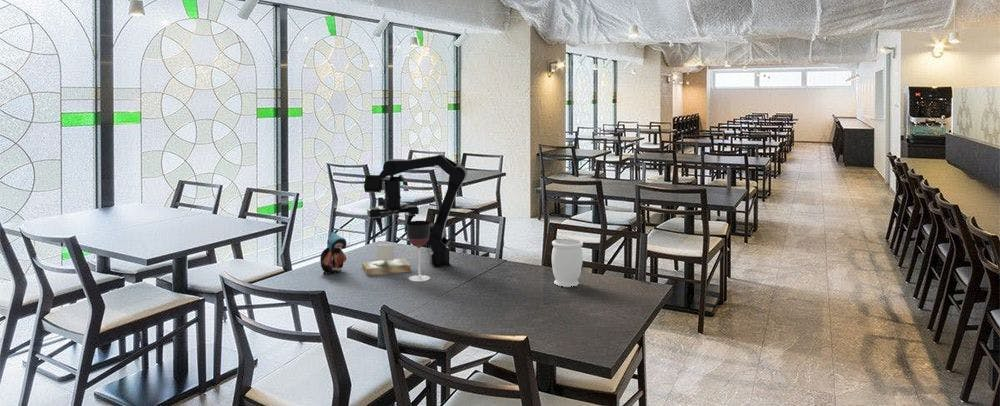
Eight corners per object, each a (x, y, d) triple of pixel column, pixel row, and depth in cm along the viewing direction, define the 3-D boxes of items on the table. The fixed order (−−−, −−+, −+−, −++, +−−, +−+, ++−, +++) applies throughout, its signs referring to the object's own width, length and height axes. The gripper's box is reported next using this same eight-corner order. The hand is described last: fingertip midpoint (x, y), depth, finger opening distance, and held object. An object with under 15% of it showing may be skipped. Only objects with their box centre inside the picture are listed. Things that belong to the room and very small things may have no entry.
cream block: (378, 262, 239) (378, 244, 238) (394, 262, 239) (394, 244, 237) (374, 266, 233) (373, 247, 232) (390, 266, 233) (389, 248, 232)
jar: (584, 281, 225) (585, 239, 223) (578, 290, 216) (579, 246, 213) (555, 278, 229) (556, 237, 226) (547, 286, 219) (548, 243, 216)
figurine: (331, 277, 229) (329, 236, 227) (317, 274, 233) (315, 233, 231) (351, 270, 238) (350, 231, 235) (338, 267, 241) (336, 228, 239)
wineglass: (435, 276, 231) (434, 221, 227) (422, 282, 223) (421, 226, 219) (416, 273, 234) (415, 219, 231) (403, 280, 226) (401, 224, 223)
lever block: (404, 264, 246) (403, 257, 246) (410, 271, 237) (410, 264, 236) (362, 268, 240) (361, 261, 240) (367, 275, 231) (366, 268, 230)
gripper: (411, 188, 254) (412, 227, 256) (363, 191, 247) (365, 230, 249) (418, 192, 244) (419, 232, 246) (369, 195, 237) (370, 236, 239)
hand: (393, 233), depth 246 cm, fingers open, 9 cm apart
